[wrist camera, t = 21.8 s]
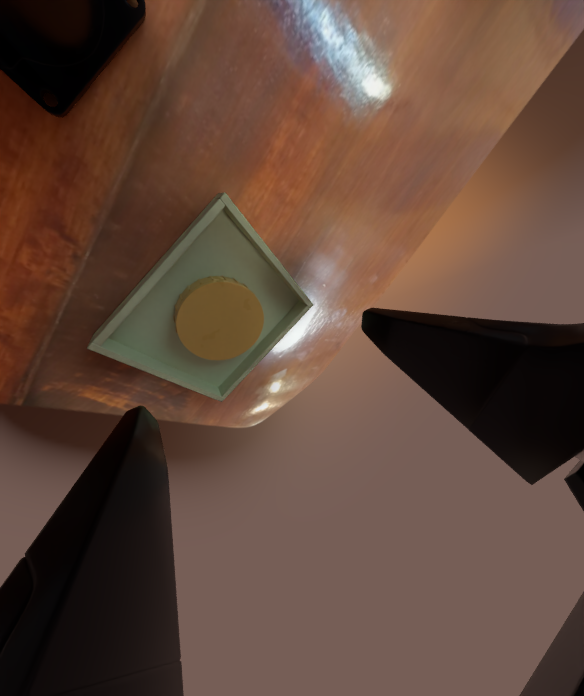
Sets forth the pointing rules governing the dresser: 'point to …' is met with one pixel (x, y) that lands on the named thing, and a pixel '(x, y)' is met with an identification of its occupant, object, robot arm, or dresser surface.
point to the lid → (218, 318)
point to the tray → (182, 270)
